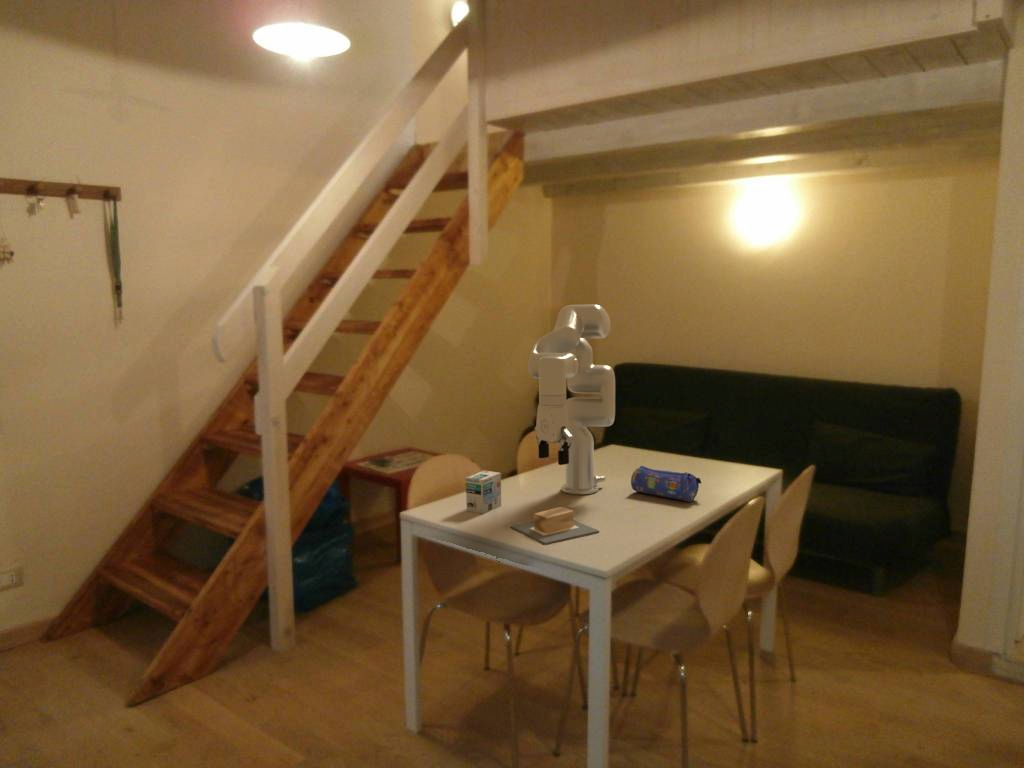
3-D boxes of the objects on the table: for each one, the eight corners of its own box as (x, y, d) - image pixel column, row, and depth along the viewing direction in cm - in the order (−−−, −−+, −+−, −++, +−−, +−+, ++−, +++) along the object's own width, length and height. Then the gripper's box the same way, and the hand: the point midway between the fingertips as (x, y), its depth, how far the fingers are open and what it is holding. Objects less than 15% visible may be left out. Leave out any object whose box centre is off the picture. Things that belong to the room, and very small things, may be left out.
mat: (562, 516, 222) (562, 514, 222) (599, 532, 207) (599, 530, 207) (510, 527, 213) (510, 525, 213) (545, 544, 198) (545, 542, 198)
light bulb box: (483, 514, 226) (483, 479, 225) (465, 511, 230) (464, 477, 229) (502, 505, 235) (501, 472, 234) (484, 502, 239) (483, 469, 238)
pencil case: (702, 499, 238) (702, 470, 237) (689, 506, 231) (689, 475, 230) (642, 489, 252) (642, 461, 251) (628, 494, 246) (628, 466, 245)
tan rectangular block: (534, 529, 209) (534, 513, 209) (560, 521, 215) (560, 506, 215) (547, 533, 205) (547, 517, 204) (573, 526, 211) (573, 510, 210)
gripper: (524, 398, 211) (525, 457, 213) (559, 405, 196) (560, 468, 199) (546, 395, 215) (547, 453, 217) (582, 403, 200) (582, 465, 202)
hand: (553, 460), depth 208 cm, fingers open, 9 cm apart
